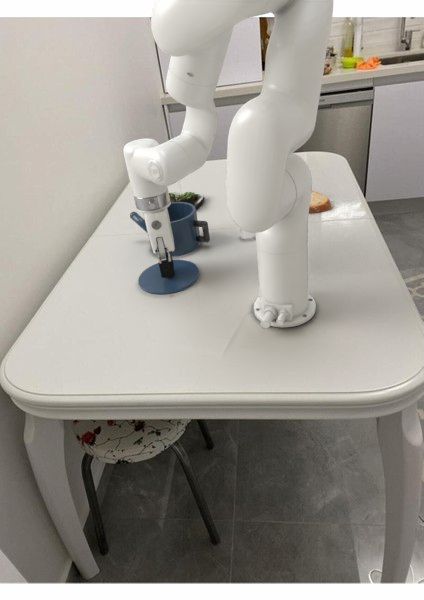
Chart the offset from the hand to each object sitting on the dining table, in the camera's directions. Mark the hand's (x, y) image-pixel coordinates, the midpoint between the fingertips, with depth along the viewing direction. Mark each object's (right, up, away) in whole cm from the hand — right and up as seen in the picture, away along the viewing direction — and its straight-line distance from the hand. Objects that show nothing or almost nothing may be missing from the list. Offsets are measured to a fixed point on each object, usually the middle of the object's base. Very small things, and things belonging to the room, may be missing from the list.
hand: (167, 271), depth 105 cm
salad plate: (-1, +23, +38) cm, 45 cm away
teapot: (+1, +8, +15) cm, 17 cm away
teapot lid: (0, -1, +1) cm, 2 cm away
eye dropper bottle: (+21, +10, +14) cm, 27 cm away
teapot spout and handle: (0, +10, +15) cm, 18 cm away
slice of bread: (+37, +23, +29) cm, 52 cm away
